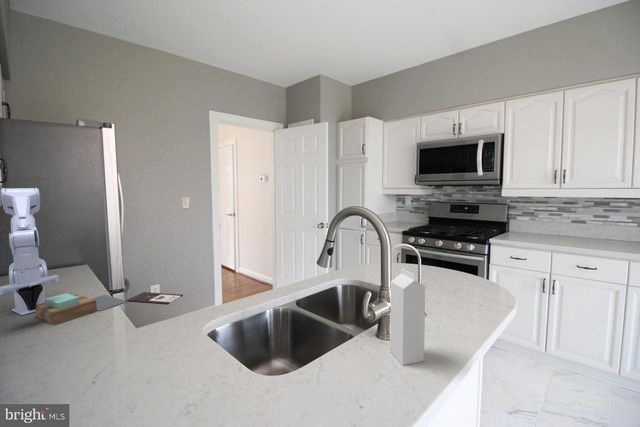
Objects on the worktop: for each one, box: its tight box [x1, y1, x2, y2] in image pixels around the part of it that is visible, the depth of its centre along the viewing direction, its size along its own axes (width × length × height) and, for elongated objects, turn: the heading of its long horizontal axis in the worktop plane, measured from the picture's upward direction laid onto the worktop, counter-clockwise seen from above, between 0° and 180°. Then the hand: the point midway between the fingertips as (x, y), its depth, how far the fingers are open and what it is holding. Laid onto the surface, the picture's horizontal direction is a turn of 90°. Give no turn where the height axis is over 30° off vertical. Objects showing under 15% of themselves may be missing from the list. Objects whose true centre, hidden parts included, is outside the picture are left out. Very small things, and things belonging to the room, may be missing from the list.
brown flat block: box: [34, 293, 98, 326], centre depth 105 cm, size 14×12×4 cm
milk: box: [389, 267, 426, 366], centre depth 75 cm, size 6×6×22 cm
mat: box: [91, 294, 129, 312], centre depth 115 cm, size 16×10×1 cm, turn 61°
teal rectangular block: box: [45, 292, 79, 309], centre depth 104 cm, size 9×6×2 cm, turn 61°
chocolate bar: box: [125, 291, 184, 306], centre depth 119 cm, size 9×1×18 cm
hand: (31, 309), depth 97 cm, fingers closed
